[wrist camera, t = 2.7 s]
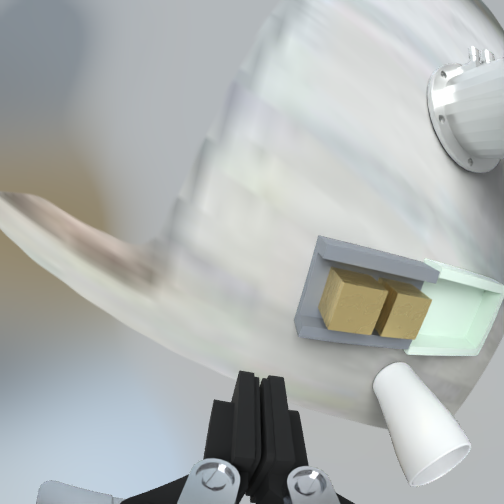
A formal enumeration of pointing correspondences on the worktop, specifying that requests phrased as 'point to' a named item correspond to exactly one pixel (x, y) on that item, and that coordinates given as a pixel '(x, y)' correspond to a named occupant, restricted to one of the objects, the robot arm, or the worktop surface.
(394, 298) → the tan cube
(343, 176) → the worktop surface
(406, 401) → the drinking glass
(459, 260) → the worktop surface
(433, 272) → the slot board
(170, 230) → the worktop surface
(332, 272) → the gold cube
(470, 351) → the tray
